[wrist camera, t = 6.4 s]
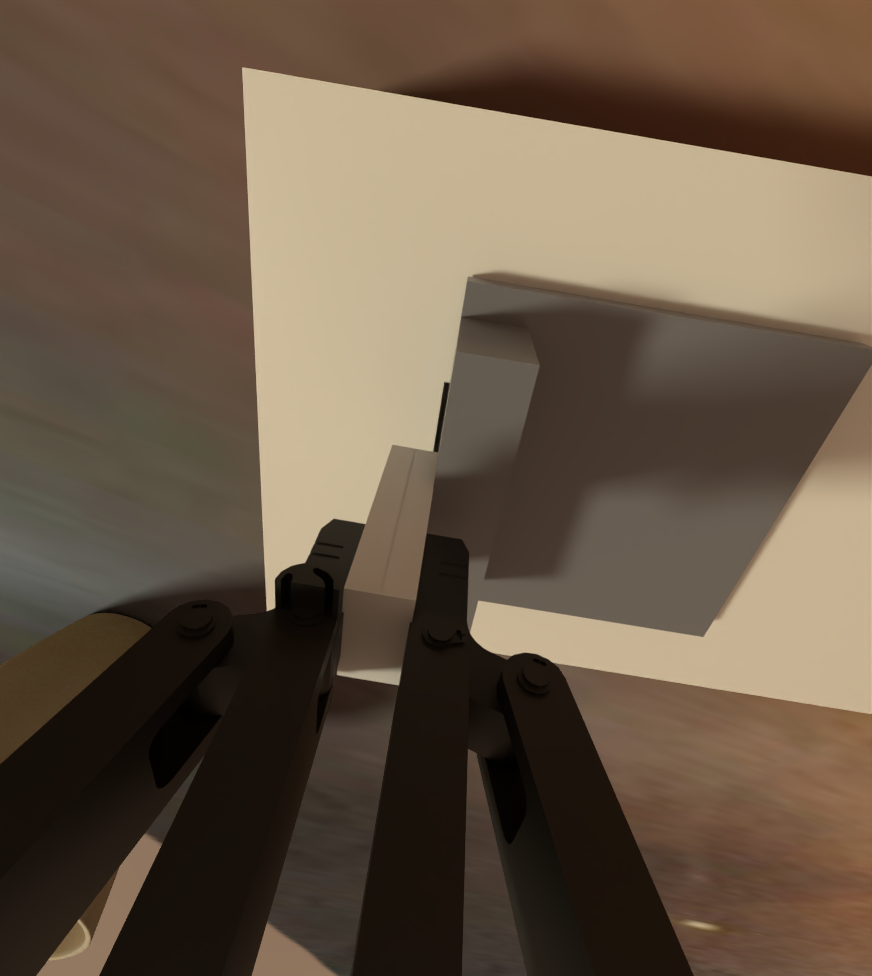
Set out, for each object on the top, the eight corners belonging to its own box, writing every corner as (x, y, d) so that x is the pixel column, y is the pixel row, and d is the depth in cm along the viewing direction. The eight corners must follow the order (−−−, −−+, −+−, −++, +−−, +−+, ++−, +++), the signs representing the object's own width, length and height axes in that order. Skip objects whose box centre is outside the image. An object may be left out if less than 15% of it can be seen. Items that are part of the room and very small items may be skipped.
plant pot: (2, 649, 39) (-251, 897, 26) (60, 535, 33) (-239, 789, 19) (177, 733, 43) (40, 984, 30) (260, 647, 37) (132, 920, 23)
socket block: (315, 518, 30) (267, 616, 24) (324, 105, 20) (242, 67, 13) (837, 603, 31) (938, 724, 24) (1119, 242, 20) (1444, 276, 13)
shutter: (417, 577, 21) (404, 659, 18) (467, 276, 15) (463, 307, 11) (696, 622, 21) (740, 713, 18) (862, 343, 15) (983, 395, 12)
